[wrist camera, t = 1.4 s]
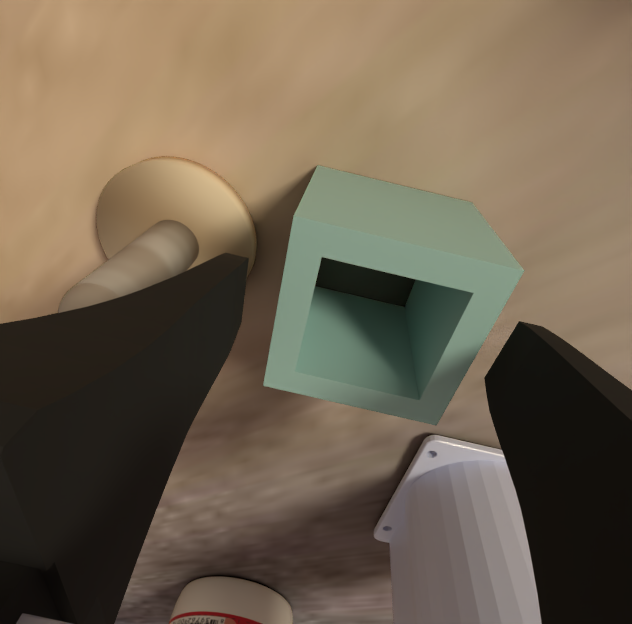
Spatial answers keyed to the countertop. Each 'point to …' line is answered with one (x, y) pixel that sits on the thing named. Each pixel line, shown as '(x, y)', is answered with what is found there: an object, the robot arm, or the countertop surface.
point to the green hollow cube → (379, 317)
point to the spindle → (162, 228)
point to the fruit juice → (230, 603)
